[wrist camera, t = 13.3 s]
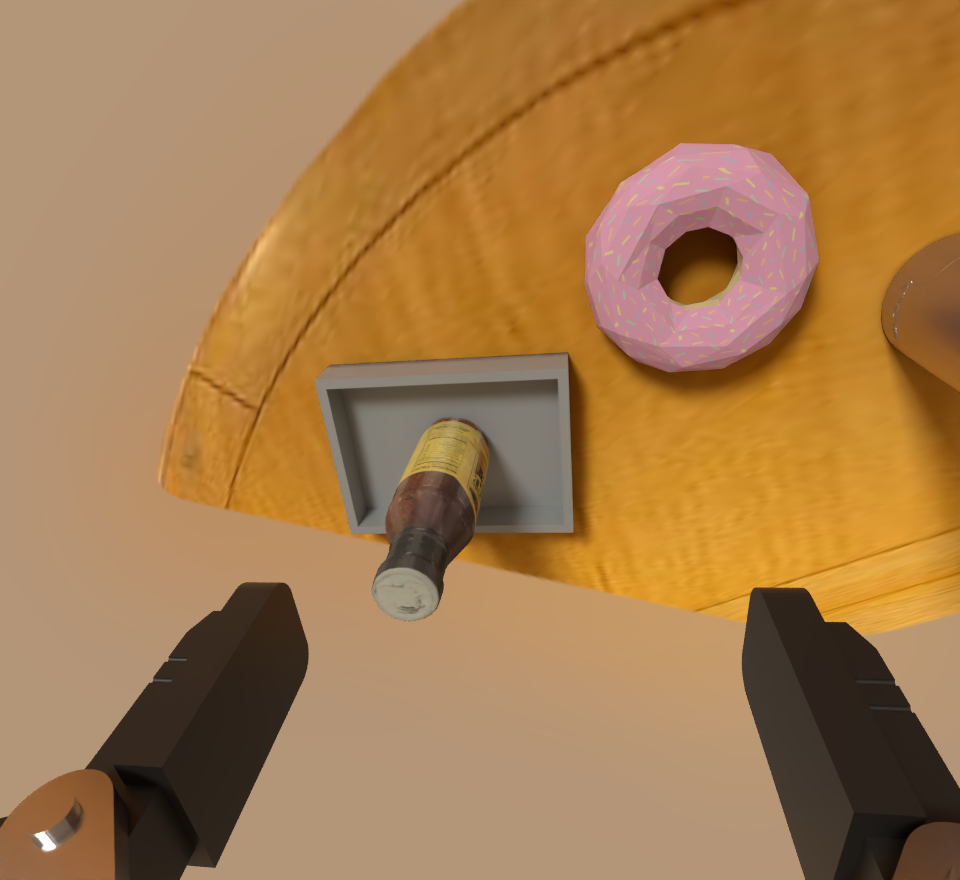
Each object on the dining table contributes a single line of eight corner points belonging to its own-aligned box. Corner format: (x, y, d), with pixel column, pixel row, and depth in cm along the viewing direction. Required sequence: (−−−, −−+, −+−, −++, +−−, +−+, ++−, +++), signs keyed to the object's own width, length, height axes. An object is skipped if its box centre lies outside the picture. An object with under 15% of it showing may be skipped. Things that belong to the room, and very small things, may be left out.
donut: (586, 147, 41) (589, 150, 37) (824, 134, 39) (857, 135, 35) (581, 361, 48) (582, 385, 44) (782, 360, 46) (805, 384, 42)
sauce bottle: (475, 485, 54) (432, 658, 36) (411, 457, 53) (336, 619, 36) (505, 427, 51) (474, 585, 33) (437, 397, 50) (370, 542, 33)
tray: (567, 352, 48) (568, 368, 45) (572, 509, 54) (573, 532, 51) (329, 365, 51) (314, 380, 48) (362, 512, 58) (351, 533, 54)
